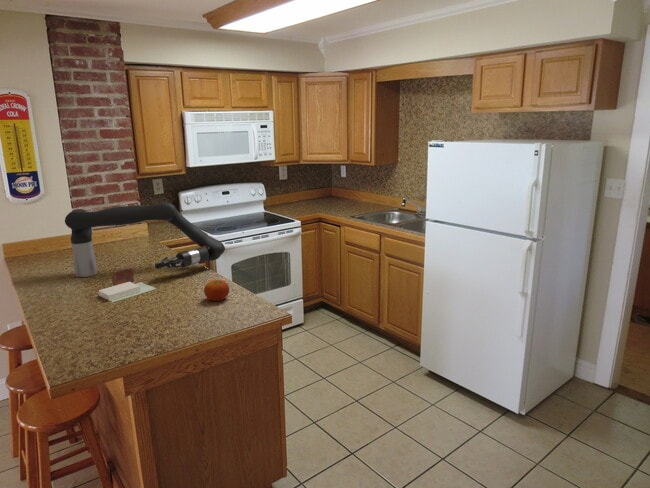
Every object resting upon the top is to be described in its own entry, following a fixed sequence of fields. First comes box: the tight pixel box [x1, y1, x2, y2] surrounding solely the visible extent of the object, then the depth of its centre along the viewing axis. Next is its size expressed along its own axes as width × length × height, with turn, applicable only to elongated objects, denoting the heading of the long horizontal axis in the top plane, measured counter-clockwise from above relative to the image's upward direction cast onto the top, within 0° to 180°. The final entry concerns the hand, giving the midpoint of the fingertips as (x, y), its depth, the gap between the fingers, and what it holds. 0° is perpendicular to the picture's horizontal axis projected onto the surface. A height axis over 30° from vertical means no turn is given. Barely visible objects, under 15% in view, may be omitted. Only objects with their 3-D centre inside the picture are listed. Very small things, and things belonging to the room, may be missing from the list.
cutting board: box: [110, 281, 157, 303], centre depth 207 cm, size 20×14×1 cm
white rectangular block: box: [98, 282, 141, 302], centre depth 204 cm, size 3×10×14 cm
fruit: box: [203, 279, 230, 302], centre depth 196 cm, size 11×10×8 cm
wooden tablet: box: [112, 268, 136, 286], centre depth 229 cm, size 27×10×2 cm, turn 22°
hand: (155, 266), depth 216 cm, fingers closed
